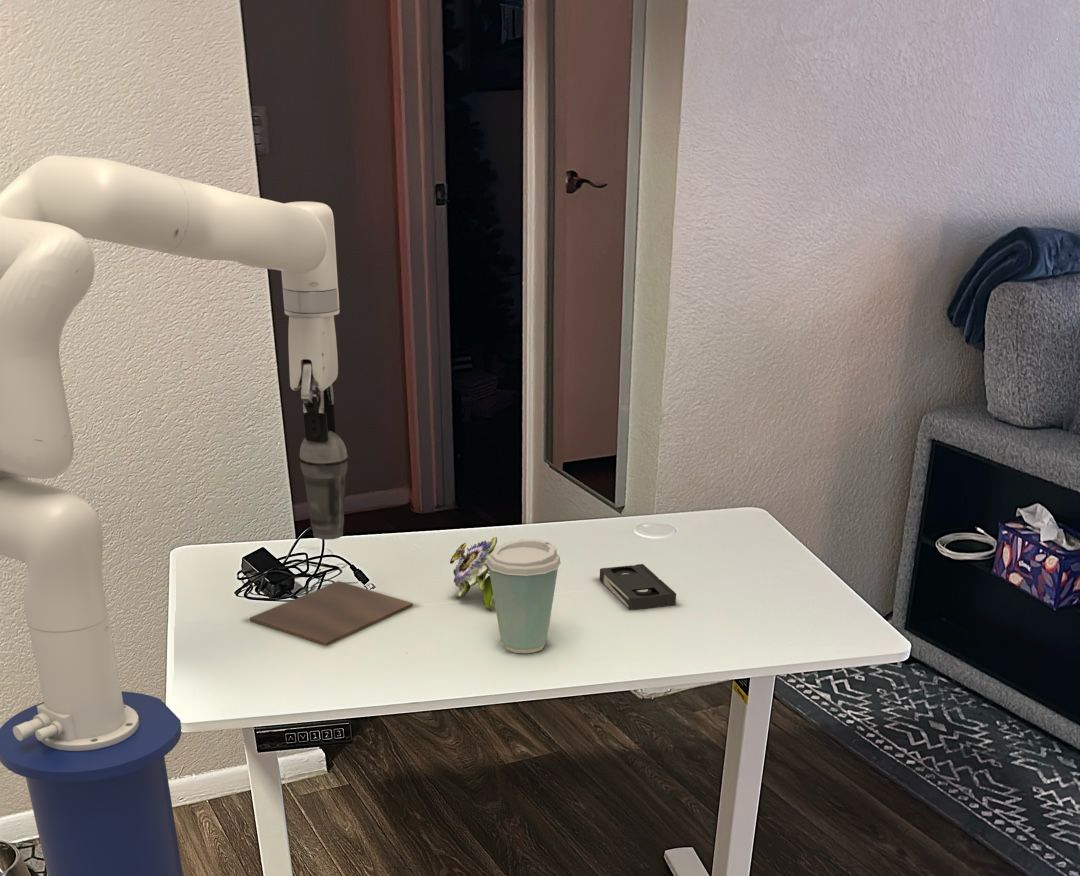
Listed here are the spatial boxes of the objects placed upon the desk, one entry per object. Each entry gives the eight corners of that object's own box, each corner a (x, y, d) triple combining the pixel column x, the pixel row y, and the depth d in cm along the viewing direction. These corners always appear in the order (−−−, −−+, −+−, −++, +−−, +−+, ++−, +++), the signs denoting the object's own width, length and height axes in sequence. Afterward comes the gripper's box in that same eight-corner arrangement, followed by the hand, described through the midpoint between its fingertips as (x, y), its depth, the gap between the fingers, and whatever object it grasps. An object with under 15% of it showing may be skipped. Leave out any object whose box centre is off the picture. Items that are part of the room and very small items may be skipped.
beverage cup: (307, 544, 190) (297, 406, 179) (300, 528, 196) (291, 393, 185) (355, 540, 191) (349, 404, 181) (348, 525, 197) (341, 392, 187)
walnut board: (326, 646, 190) (325, 642, 189) (249, 620, 197) (249, 617, 197) (413, 606, 204) (412, 603, 203) (338, 583, 211) (338, 581, 211)
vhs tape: (598, 579, 215) (599, 568, 214) (642, 575, 217) (642, 563, 216) (629, 610, 204) (630, 598, 203) (675, 605, 206) (676, 593, 205)
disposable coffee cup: (512, 665, 185) (513, 565, 177) (473, 640, 192) (472, 543, 184) (572, 649, 190) (575, 552, 182) (531, 626, 197) (533, 531, 190)
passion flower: (462, 628, 210) (439, 559, 210) (524, 610, 212) (501, 541, 212) (470, 613, 199) (446, 540, 199) (535, 594, 201) (511, 521, 201)
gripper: (300, 291, 183) (310, 421, 193) (268, 311, 169) (280, 450, 179) (351, 293, 183) (358, 423, 193) (323, 313, 169) (333, 453, 178)
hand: (321, 435), depth 186 cm, fingers closed on beverage cup, 4 cm apart
